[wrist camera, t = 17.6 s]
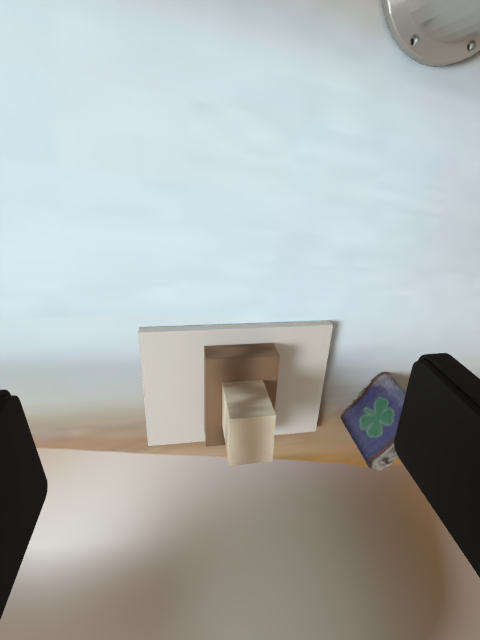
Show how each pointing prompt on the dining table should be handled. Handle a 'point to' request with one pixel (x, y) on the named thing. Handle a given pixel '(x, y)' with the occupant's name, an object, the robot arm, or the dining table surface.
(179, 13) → the dining table surface
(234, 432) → the birch block
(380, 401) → the flask
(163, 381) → the plate
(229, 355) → the plinth
